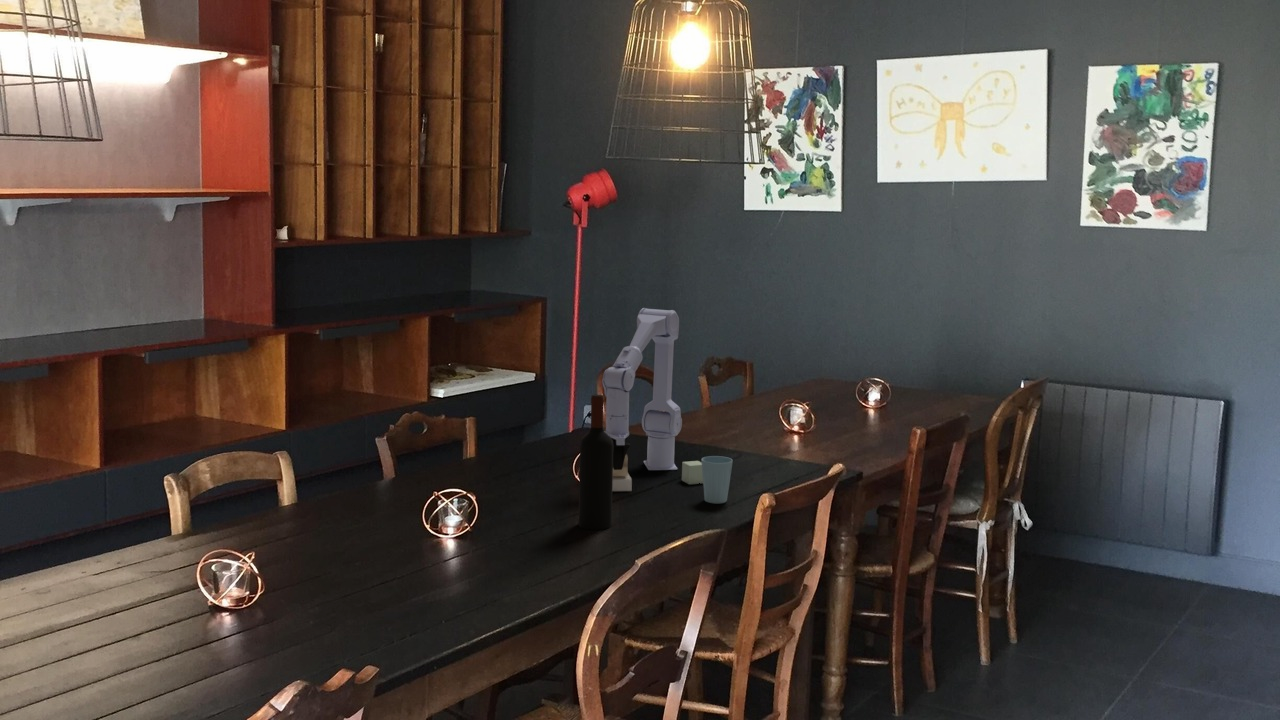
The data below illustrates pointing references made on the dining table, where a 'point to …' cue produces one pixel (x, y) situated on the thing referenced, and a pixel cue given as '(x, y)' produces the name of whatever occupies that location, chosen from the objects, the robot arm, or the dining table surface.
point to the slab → (622, 483)
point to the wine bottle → (596, 472)
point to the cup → (716, 478)
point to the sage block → (692, 472)
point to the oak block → (624, 469)
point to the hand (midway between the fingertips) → (616, 467)
